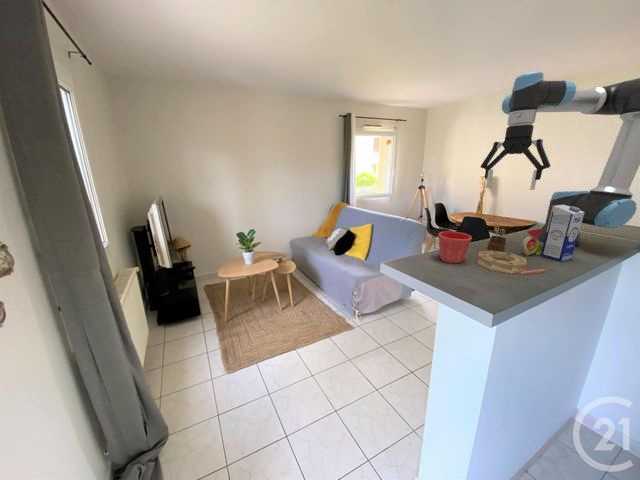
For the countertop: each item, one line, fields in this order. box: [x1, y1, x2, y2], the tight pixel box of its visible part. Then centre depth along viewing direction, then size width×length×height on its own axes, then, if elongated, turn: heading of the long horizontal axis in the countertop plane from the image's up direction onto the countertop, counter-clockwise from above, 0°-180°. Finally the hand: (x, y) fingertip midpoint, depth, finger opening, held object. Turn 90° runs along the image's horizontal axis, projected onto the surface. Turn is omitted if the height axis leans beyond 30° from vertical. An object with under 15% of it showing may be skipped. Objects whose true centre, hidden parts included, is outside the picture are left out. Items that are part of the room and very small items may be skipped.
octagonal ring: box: [477, 250, 528, 274], centre depth 94 cm, size 14×14×3 cm
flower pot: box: [438, 230, 473, 264], centre depth 99 cm, size 11×11×10 cm
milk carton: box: [540, 205, 584, 263], centre depth 99 cm, size 7×7×20 cm
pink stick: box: [518, 268, 547, 276], centre depth 88 cm, size 10×1×1 cm, turn 103°
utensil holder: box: [486, 222, 507, 252], centre depth 104 cm, size 6×6×12 cm
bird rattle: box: [521, 228, 544, 257], centre depth 104 cm, size 6×11×9 cm
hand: (509, 188), depth 96 cm, fingers open, 13 cm apart
